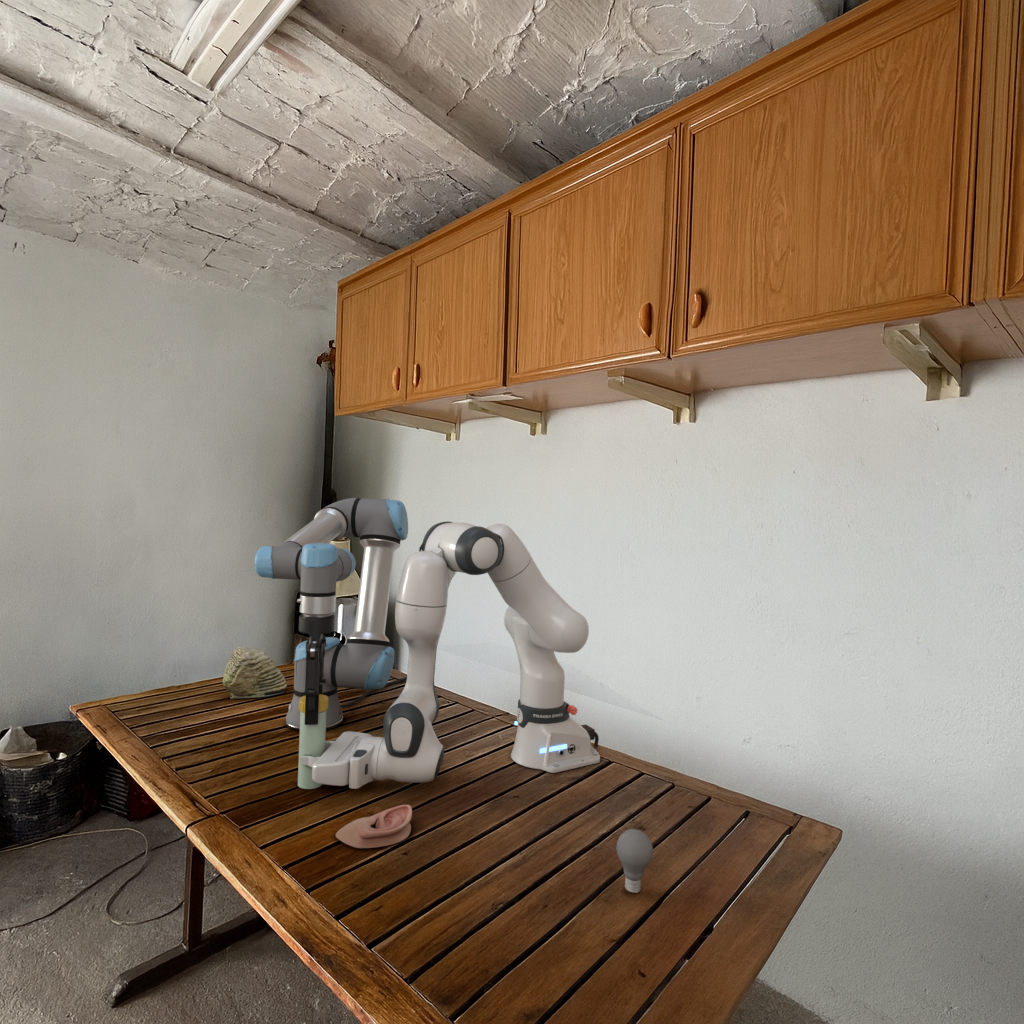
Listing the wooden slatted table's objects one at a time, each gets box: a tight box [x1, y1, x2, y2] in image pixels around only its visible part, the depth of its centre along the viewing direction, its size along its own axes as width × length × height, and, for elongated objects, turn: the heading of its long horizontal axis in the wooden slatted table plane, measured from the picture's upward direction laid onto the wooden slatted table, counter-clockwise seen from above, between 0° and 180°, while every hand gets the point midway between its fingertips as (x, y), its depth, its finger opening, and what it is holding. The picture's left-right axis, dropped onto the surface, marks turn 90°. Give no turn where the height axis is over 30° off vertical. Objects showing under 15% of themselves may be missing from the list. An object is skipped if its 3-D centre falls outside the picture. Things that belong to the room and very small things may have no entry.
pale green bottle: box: [297, 710, 327, 790], centre depth 139 cm, size 6×6×18 cm
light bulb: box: [615, 828, 654, 894], centre depth 106 cm, size 6×6×10 cm
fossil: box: [222, 646, 288, 699], centre depth 198 cm, size 9×18×15 cm, turn 132°
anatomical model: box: [335, 804, 413, 849], centre depth 120 cm, size 13×4×12 cm
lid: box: [299, 694, 329, 713], centre depth 139 cm, size 6×6×2 cm
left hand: (313, 718), depth 139 cm, fingers closed on lid, 6 cm apart
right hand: (307, 753), depth 140 cm, fingers closed on pale green bottle, 5 cm apart
